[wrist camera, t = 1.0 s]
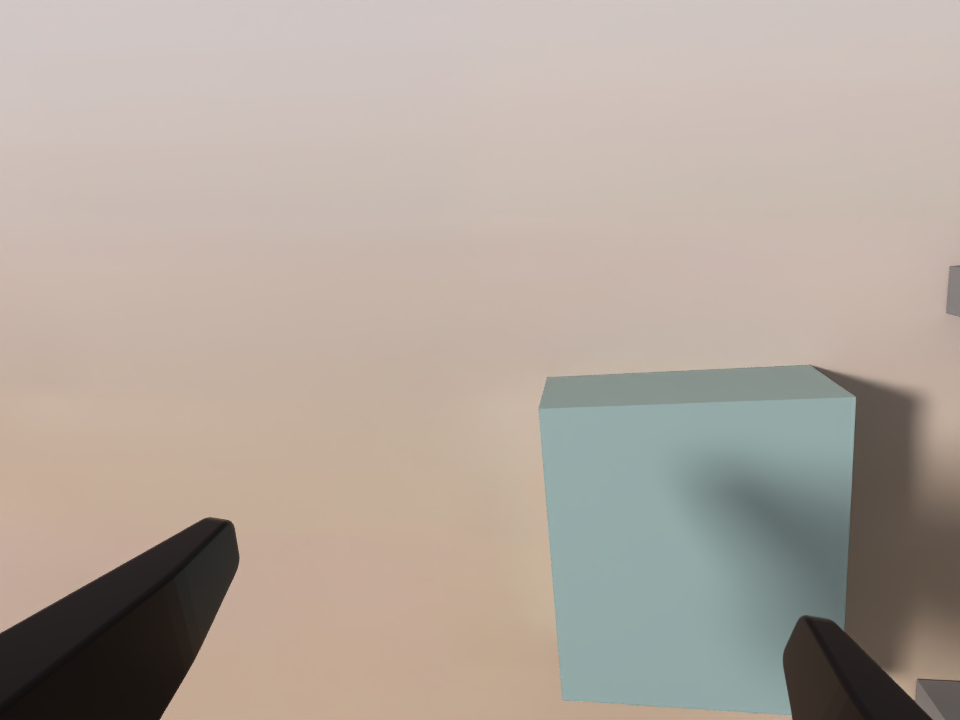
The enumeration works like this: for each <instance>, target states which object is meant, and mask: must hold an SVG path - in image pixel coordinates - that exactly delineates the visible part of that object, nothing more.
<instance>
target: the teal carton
mask: <svg viewBox="0 0 960 720" xmlns="http://www.w3.org/2000/svg"><path fill="white" fill-rule="evenodd" d="M855 409H856V397H855V396H854V395H852V394H851V393H849V392H848V391H847V390H845V389H844V388H842V387H841V386H839V385H838V384H836V383H835V382H834V381H832V380H831V379H829V378H828V377H826V376H825V375H823V374H822V373H821V372H819V371H818V370H816V369H815V368H813V367H812V366H810V365H796V366H775V367H754V368H733V369H712V370H691V371H669V372H648V373H627V374H606V375H585V376H564V377H547V380H546V383H545V387H544V391H543V394H542V398H541V402H540V405H539V420H540V432H541V444H542V457H543V469H544V481H545V493H546V506H547V518H548V530H549V542H550V554H551V567H552V579H553V591H554V603H555V615H556V628H557V640H558V652H559V664H560V676H561V689H562V700H568V701H583V702H598V703H613V704H628V705H643V706H658V707H673V708H688V709H703V710H718V711H733V712H748V713H763V714H778V715H792V714H791V708H790V702H789V697H788V691H787V686H786V680H785V675H784V669H783V652H784V649H785V646H786V644H787V642H788V640H789V638H790V635H791V633H792V631H793V629H794V627H795V624H796V622H797V620H798V619H799V618H800V617H801V616H803V615H809V616H815V617H821V618H827V619H830V620H832V621H834V622H835V623H836V624H837V625H838V626H839V627H840V628H841V629H843V630H844V629H845V609H846V589H847V569H848V549H849V529H850V509H851V489H852V469H853V449H854V429H855Z"/></svg>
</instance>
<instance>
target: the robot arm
mask: <svg viewBox="0 0 960 720" xmlns="http://www.w3.org/2000/svg"><path fill="white" fill-rule="evenodd" d="M238 565H239V551H238V545H237V539H236V533H235V528H234V525H233V523H232V522H231V521H229V520H225V519H219V518H212V517H209V518H205V519H203V520H201V521H199V522H197V523H195V524H194V525H192V526H190V527H188V528H186V529H185V530H183V531H181V532H179V533H178V534H176V535H174V536H172V537H170V538H169V539H167V540H165V541H163V542H162V543H160V544H158V545H156V546H154V547H153V548H151V549H149V550H147V551H146V552H144V553H142V554H140V555H138V556H137V557H135V558H133V559H131V560H130V561H128V562H126V563H124V564H123V565H121V566H119V567H117V568H115V569H114V570H112V571H110V572H108V573H107V574H105V575H103V576H101V577H99V578H98V579H96V580H94V581H92V582H91V583H89V584H87V585H85V586H83V587H82V588H80V589H78V590H76V591H75V592H73V593H71V594H69V595H67V596H66V597H64V598H62V599H60V600H59V601H57V602H55V603H53V604H51V605H50V606H48V607H46V608H44V609H43V610H41V611H39V612H37V613H36V614H34V615H32V616H30V617H28V618H27V619H25V620H23V621H21V622H20V623H18V624H16V625H14V626H12V627H11V628H9V629H7V630H5V631H4V632H2V633H0V720H160V718H161V717H162V715H163V713H164V711H165V710H166V708H167V706H168V705H169V703H170V701H171V700H172V698H173V696H174V695H175V693H176V691H177V690H178V688H179V686H180V684H181V683H182V681H183V679H184V678H185V676H186V674H187V673H188V671H189V669H190V667H191V665H192V664H193V662H194V660H195V658H196V656H197V654H198V652H199V650H200V648H201V646H202V644H203V642H204V640H205V638H206V636H207V633H208V631H209V629H210V627H211V625H212V623H213V621H214V618H215V616H216V614H217V612H218V610H219V608H220V606H221V603H222V601H223V599H224V597H225V595H226V593H227V591H228V589H229V586H230V584H231V582H232V580H233V578H234V576H235V574H236V571H237V568H238ZM783 669H784V675H785V680H786V686H787V691H788V697H789V702H790V708H791V714H792V719H793V720H933V719H932V718H931V717H930V716H929V715H928V714H927V713H926V712H925V711H924V710H923V709H922V708H921V707H920V706H919V705H918V704H917V703H916V702H915V701H914V700H913V699H912V698H911V697H910V696H909V695H908V694H907V693H906V692H905V691H904V690H903V689H902V688H901V687H900V686H899V685H898V684H897V683H896V682H895V681H894V680H893V679H892V678H891V677H890V676H889V675H888V674H887V673H886V672H885V671H884V670H883V669H882V668H881V667H880V666H879V665H878V664H877V663H876V662H875V661H874V660H873V659H872V658H871V657H870V656H869V655H868V654H867V653H866V652H865V651H864V650H863V649H862V648H861V647H860V646H859V645H858V644H857V643H856V642H855V641H854V640H853V639H852V638H851V637H850V636H849V635H848V634H847V633H846V632H845V631H844V630H843V629H841V628H840V627H839V626H838V625H837V624H836V623H835V622H834V621H832V620H830V619H827V618H821V617H815V616H809V615H803V616H801V617H800V618H799V619H798V620H797V622H796V624H795V627H794V629H793V631H792V633H791V635H790V638H789V640H788V642H787V644H786V646H785V649H784V652H783Z"/></svg>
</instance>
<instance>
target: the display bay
mask: <svg viewBox="0 0 960 720" xmlns="http://www.w3.org/2000/svg"><path fill="white" fill-rule="evenodd" d="M946 313H948V314H951V315H955V316H959V317H960V266H950V274H949V286H948V299H947V311H946ZM915 702H916V703H917V704H918V705H919V706H920V707H921V708H922V709H923V710H924V711H925V712H926V713H927V714H928V715H929V716H930V717H931V718H932V719H933V720H960V682H959V681H940V680H920V679H917V686H916V699H915Z"/></svg>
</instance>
